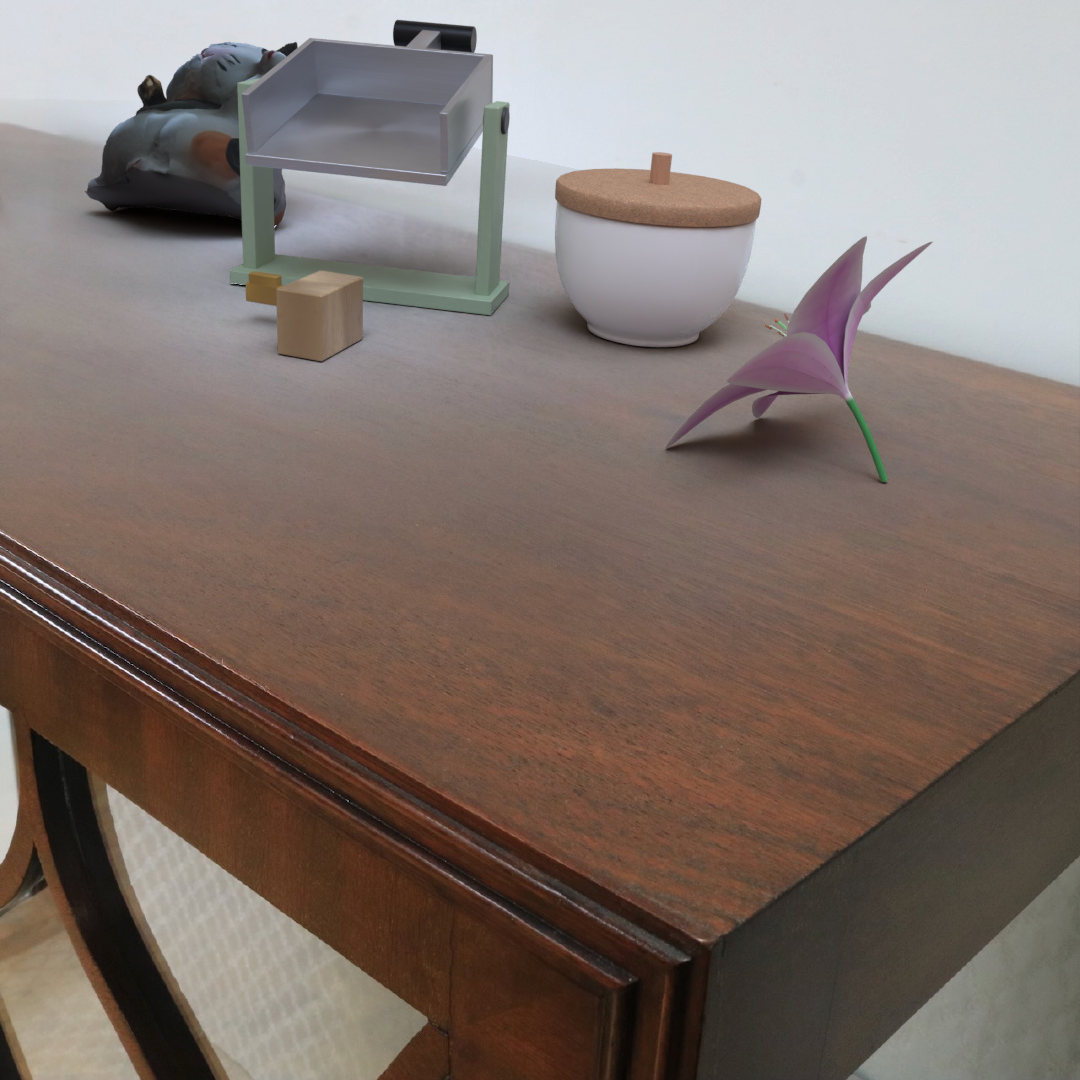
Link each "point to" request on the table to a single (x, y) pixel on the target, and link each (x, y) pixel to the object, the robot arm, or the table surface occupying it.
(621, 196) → the trinket box
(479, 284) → the bracket
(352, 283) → the tan blocky wooden piece
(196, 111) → the lucky cat figurine
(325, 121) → the shallow metal tray
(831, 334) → the lily
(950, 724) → the table surface
